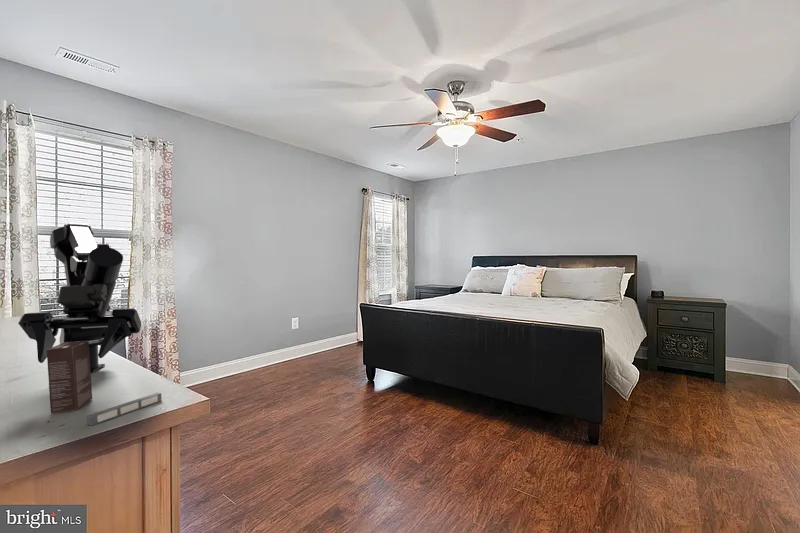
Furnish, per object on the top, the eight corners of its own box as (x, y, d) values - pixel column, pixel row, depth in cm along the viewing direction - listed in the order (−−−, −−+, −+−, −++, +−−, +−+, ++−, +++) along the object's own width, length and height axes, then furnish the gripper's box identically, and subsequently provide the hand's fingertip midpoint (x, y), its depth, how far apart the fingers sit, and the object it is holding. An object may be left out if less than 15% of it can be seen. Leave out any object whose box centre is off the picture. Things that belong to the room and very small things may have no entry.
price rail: (87, 424, 63) (86, 415, 63) (157, 399, 74) (157, 392, 74) (91, 425, 63) (91, 417, 63) (162, 400, 74) (161, 393, 74)
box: (65, 402, 73) (64, 341, 73) (93, 399, 75) (91, 339, 74) (46, 414, 68) (45, 348, 67) (76, 411, 69) (75, 346, 69)
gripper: (23, 271, 73) (-16, 339, 62) (135, 270, 79) (117, 331, 69) (46, 307, 80) (15, 373, 70) (147, 303, 86) (132, 362, 76)
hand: (70, 359), depth 71 cm, fingers open, 9 cm apart
